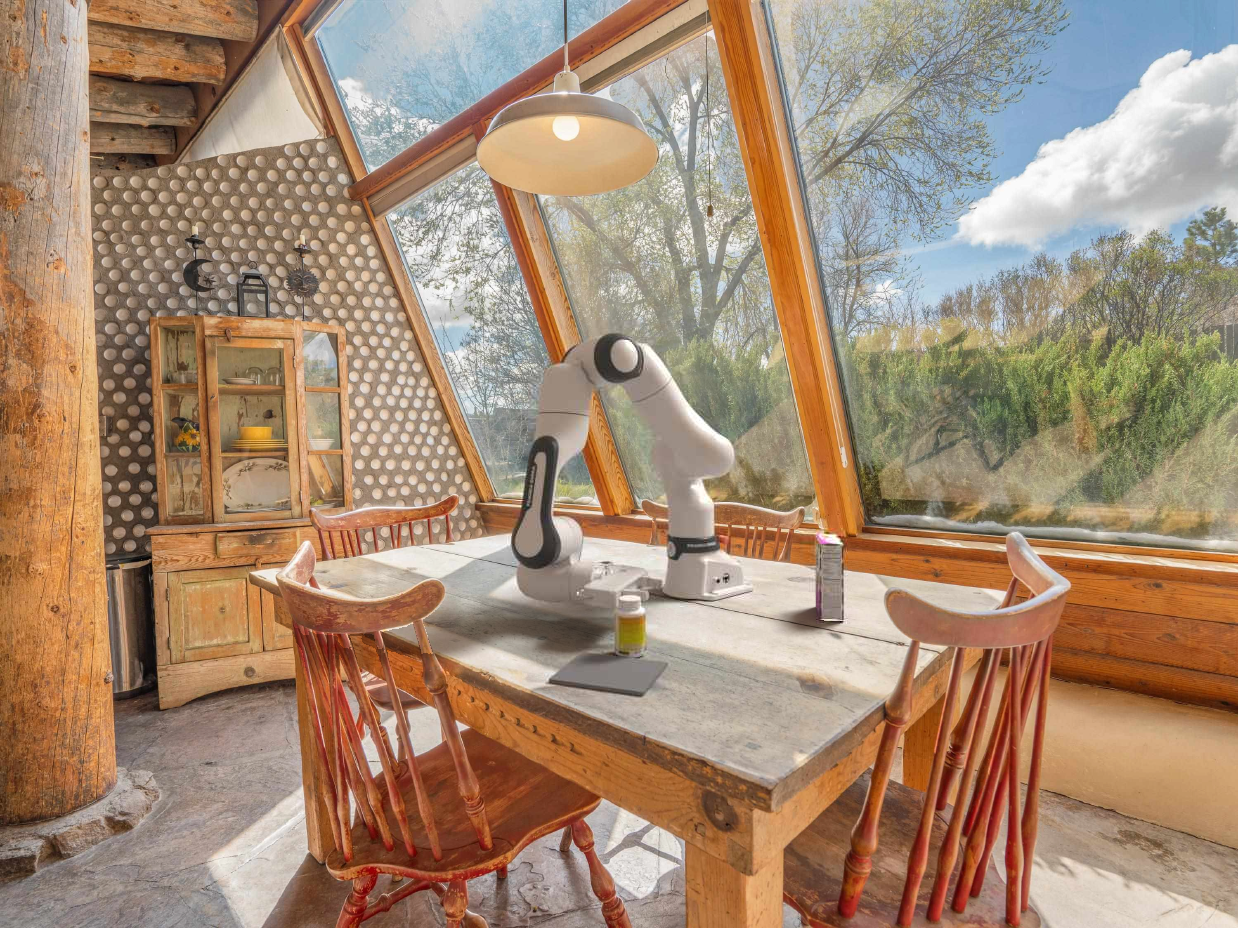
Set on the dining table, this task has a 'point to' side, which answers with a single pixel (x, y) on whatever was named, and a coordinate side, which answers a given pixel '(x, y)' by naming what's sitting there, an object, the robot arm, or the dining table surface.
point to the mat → (610, 673)
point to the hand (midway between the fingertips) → (655, 589)
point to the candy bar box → (829, 576)
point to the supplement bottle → (630, 627)
